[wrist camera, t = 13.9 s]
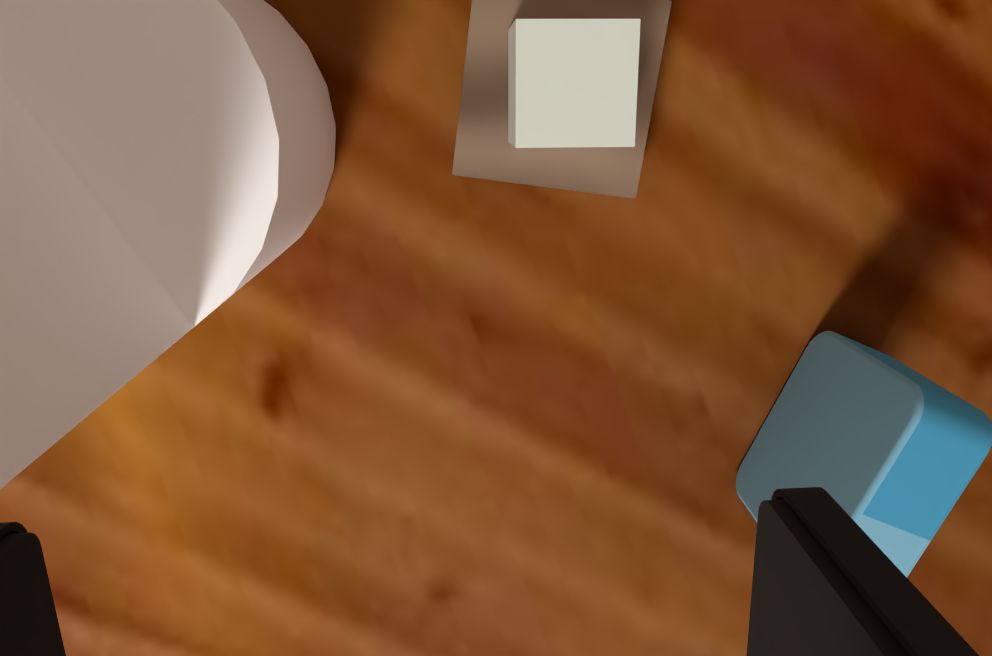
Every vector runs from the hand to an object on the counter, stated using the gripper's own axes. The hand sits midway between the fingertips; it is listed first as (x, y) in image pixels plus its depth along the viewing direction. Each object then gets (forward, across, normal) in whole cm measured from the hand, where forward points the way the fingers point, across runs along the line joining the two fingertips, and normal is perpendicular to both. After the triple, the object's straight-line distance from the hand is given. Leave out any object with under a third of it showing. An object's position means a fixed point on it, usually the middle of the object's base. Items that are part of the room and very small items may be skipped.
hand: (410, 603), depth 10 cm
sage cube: (+33, -6, -7) cm, 34 cm away
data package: (+37, -22, +14) cm, 45 cm away
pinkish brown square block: (+37, -6, -7) cm, 38 cm away
